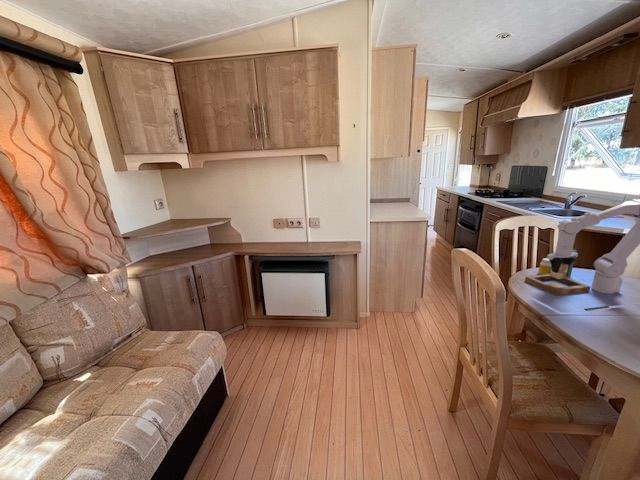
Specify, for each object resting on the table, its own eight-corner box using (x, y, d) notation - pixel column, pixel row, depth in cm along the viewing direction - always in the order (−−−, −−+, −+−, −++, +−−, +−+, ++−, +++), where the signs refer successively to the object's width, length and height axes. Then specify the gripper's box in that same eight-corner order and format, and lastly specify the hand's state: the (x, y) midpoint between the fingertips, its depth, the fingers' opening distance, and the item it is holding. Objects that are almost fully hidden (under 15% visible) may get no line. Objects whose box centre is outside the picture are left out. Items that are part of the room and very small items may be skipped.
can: (572, 277, 139) (579, 250, 135) (564, 278, 138) (570, 252, 134) (560, 272, 145) (566, 247, 141) (551, 274, 143) (557, 248, 139)
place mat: (580, 295, 121) (581, 294, 120) (609, 307, 110) (609, 306, 110) (560, 297, 119) (560, 297, 119) (586, 310, 109) (587, 309, 109)
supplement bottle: (540, 272, 146) (543, 256, 143) (552, 275, 141) (555, 259, 139) (536, 275, 143) (539, 259, 140) (548, 278, 139) (552, 261, 136)
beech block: (557, 275, 129) (560, 262, 127) (565, 278, 126) (568, 265, 124) (549, 275, 129) (552, 262, 127) (558, 279, 125) (561, 265, 123)
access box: (554, 279, 137) (556, 273, 136) (588, 293, 122) (590, 286, 121) (524, 282, 135) (525, 276, 134) (555, 297, 120) (556, 290, 119)
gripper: (569, 241, 127) (563, 267, 131) (543, 244, 126) (537, 269, 129) (585, 245, 121) (578, 272, 124) (557, 248, 119) (551, 275, 123)
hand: (558, 271), depth 126 cm, fingers closed on beech block, 4 cm apart
